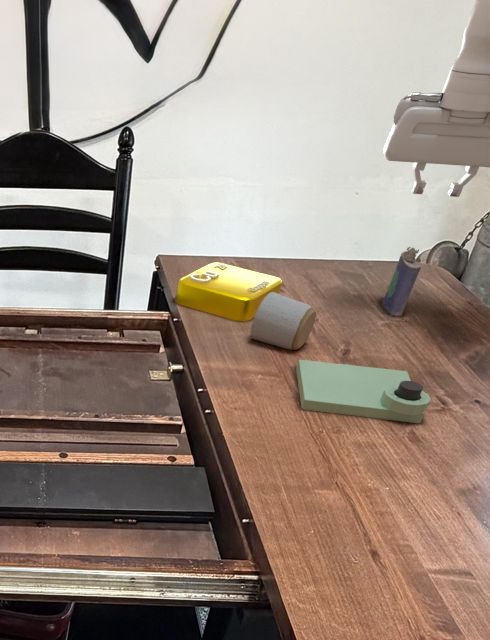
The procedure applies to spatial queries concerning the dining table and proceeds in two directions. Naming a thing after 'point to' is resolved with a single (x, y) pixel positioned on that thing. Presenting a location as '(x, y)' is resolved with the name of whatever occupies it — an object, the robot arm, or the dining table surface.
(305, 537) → the dining table surface
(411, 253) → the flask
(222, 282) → the element tile
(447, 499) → the dining table surface
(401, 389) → the button
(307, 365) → the green base with knob
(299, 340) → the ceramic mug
